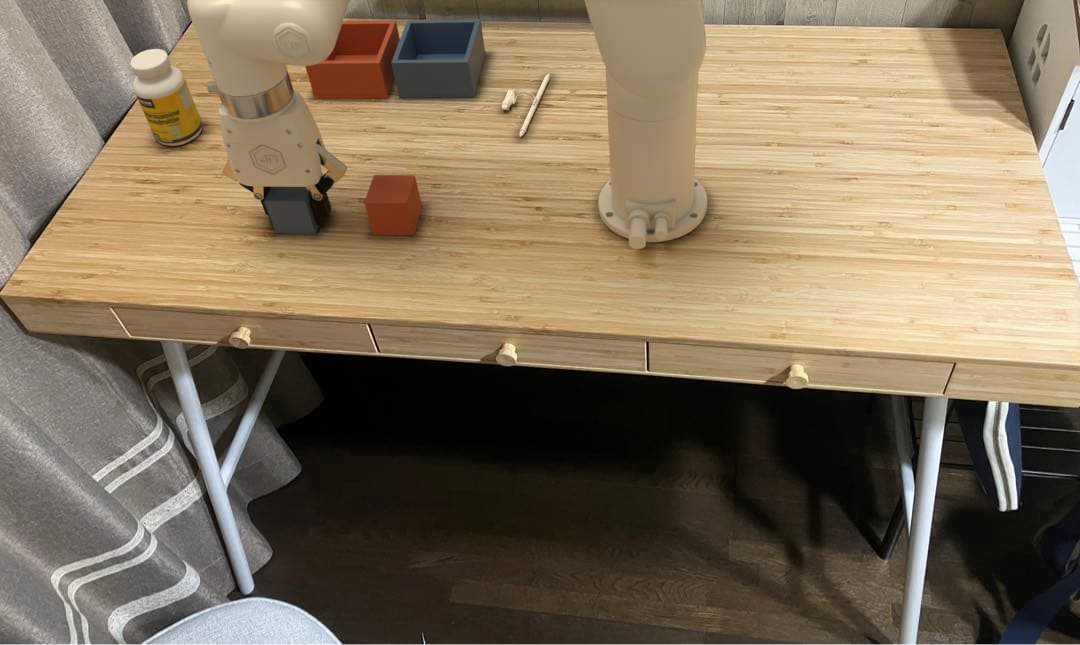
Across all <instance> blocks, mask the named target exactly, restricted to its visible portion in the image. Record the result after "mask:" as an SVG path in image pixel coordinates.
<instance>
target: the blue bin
mask: <svg viewBox="0 0 1080 645" xmlns="http://www.w3.org/2000/svg"><path fill="white" fill-rule="evenodd" d="M399 38H400V41H399V44H398V46H397V49H396V52H395V54H394V57H393V59H392V62H391V64H392V68H393V72H394V77H395V79H394V82H395V85H396V89H397V94H398V98H399V99H457V98H458V99H461V98H463V99H464V98H465V99H467V98H469V99H470V98H475V95H476V92H477V87H478V85H479V80H480V78H481V77H480V76H481V72H482V70H483V66H484V62H485V58H486V46H485V42H484V41H485V40H484V33H483V27H482V21H481V19H480V18H476V19H475V18H474V19H473V18H472V19H419V20H418V19H412V20H411V19H410V20H409V19H408V20H406V22H405V25H404V28H403V30H402V33H401V36H400V37H399Z"/></svg>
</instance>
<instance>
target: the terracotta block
mask: <svg viewBox="0 0 1080 645" xmlns="http://www.w3.org/2000/svg"><path fill="white" fill-rule="evenodd" d="M364 207H365V211H366V215H367V218H368V221H369V225H370V229H371V232H372V235H373V236H415V234H416V231H417V227H418V224H419V220H420V218H421V217H420V216H421V213H422V209H423V204H422V200H421V195H420V191H419V187H418V184H417V178H416V175H415V174H373V176H372V180H371V182H370V185H369V188H368V190H367V193H366V196H365V199H364Z"/></svg>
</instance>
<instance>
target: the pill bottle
mask: <svg viewBox="0 0 1080 645" xmlns="http://www.w3.org/2000/svg"><path fill="white" fill-rule="evenodd" d="M130 67H131V69H132V72H133V74H134V75H135V77H134V79H133V82H132V89H133V93H134V94H135V96H136V99H137V101H138V103H139V106H140V107H141V111H142V113H143V114H144V117H145V119H146V121H147V123H148V126H149V128H150V130H151V132H152V134H153V137H154V138H155V140H156V141H157V142H158V143H159V144H161V145H165V146H169V147H170V146H171V147H174V146H181V145H186V144H187V143H189V142H191V141H194V140H195V139H196V138H197V137H198V136H199V135H200V133H201V132H202V129H203V121H202V119H201V116H200V114H199V111H198V109H197V105H196V104H195V100H194V99H193V96H192V93H191V90H190V88H189V86H188V83H187V81H186V78H185V76H184V73H183V72H182V70H180V69H179V68H178V67H176V66H173V65H172V63H171V59H170V57H169V55H168V53H167V51H166V50H164V49H160V48H151V49H146V50H143V51H141V52H139V53H137V54H136V55H134V56H133V57H132V58H131V60H130Z"/></svg>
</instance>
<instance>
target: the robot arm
mask: <svg viewBox="0 0 1080 645" xmlns="http://www.w3.org/2000/svg"><path fill="white" fill-rule="evenodd" d="M350 1H351V0H187V2H186V4H187V11H188V14H189V18H190V20H191V23H192V25H193V28H194V30H195V32H196V35H197V38H198V41H199V43H200V45H201V49H202V51H203V54H204V56H205V59H206V62H207V64H208V67H209V69H210V72H211V75H212V78H213V80H214V81H213V80H211V81H208V82H207V83H206V84H207V85H206V89H207V92H208V93H209V94H210V95H216V96H219V99H220V102H221V104H220V105H219V107H218V117H219V125H220V131H221V137H222V141H223V144H224V148H225V152H226V156H227V162H226V163H225V165H224V167H223V169H222V172H221V173H222V175H224V176H225V177H226V178H228V179H230V180H232V181H234V182H235V183H236V182H237V183H238V184H239V185H240V186H241V187H243V188H244V189H245V190H247V191H248V192H251V193H252V194H253V197H254V199H256V200H257V201H260V204H261V206H262V208H263V211H264V214H265V215H266V216H267V217H268V219H269V222H270V225H271V226H272V227H274V226H273V224H272V221H271V218H270V216H269V213H268V210H267V208H266V205H265V203H264V201H265V199H266V197H267V194H268V192H269V190H270V188H271V187H305V188H306V189H307V191H308V192H309V193H310V195H311V196H312V197H311V200H310V205H311V208H312V211H313V214H314V217H315V220H316V223H317V225H318V226H319V227H324V226H325V223H326V221H327V218H328V217H330V216H331V213H332V205H331V202H330V199H329V195H328V192H329V191H330V189H332V188H333V186H334V184H335V183H337V182H339V181H340V180H341V179H343V178H344V177H345V175H346V172H347V170H348V166H347V165H346V164H345V163H344V162H342V161H341V160H339V159H338V158H337V157H336V156H335V155H333V154H332V153H331V152H330V151H328V150H327V149H326V146H325V143H324V140H323V137H322V134H321V132H320V130H319V127H318V124H317V122H316V120H315V118H314V116H313V113H312V112H311V110H310V108H309V106H308V104H307V103H306V101H305V99H304V97H303V96H302V94H301V92H300V91H298V90H294V86H293V84H292V81H291V80H292V79H291V77H290V74H289V71H288V68H287V65H288V66H294V67H295V66H296V67H305V66H311V65H315V64H318V63H320V62H322V61H324V60H325V59H326V58H328V56H329V55H330V54H331V53H332V51H333V49H334V47H335V44H336V41H337V38H338V35H339V32H340V29H341V26H342V22H343V21H344V19H345V15H346V12H347V10H348V7H349V5H350ZM583 1H584V5H585V8H586V11H587V15H588V18H589V21H590V24H591V27H592V31H593V35H594V38H595V40H596V44H597V47H598V51H599V53H600V57H601V59H602V62H603V64H604V66H605V85H606V88H605V89H606V107H607V108H606V109H607V110H606V112H607V130H608V132H607V133H608V148H609V149H608V154H609V174H610V176H609V177H610V178H609V180H608V181H607V182H606V183H605V184H604V186H602V188H601V191H600V192H599V195H598V198H597V199H598V201H597V205H598V206H597V207H598V213H599V217H600V219H601V221H602V222H603V224H604V225H605V226H606V227H607V228H608V229H609V230H611V231H612V232H614V233H615V234H616V235H618V236H620V237H623V238H625V239H628V245H629V247H630V248H632V249H634V250H640V249H641V250H642V249H643V248H645V247H646V245H647V243H660V242H667V241H672V240H675V239H678V238H681V237H683V236H685V235H687V234H690V232H692V231H694V230H695V229H696V228H698V226H699V225H700V224H701V223H702V222H703V220H704V218H705V216H706V214H707V211H708V202H709V201H708V194H707V191H706V189H705V187H704V186H703V184H702V183H701V181H699V180H698V179H697V178H696V175H695V174H696V150H697V149H696V147H697V118H698V116H697V115H698V114H697V113H698V95H699V71H700V69H701V67H702V65H703V62H704V59H705V55H706V50H707V36H706V35H707V34H706V24H705V16H704V4H703V0H583ZM322 167H323V168H325V169H326V170H327V171H325V173H323V171H322Z"/></svg>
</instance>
